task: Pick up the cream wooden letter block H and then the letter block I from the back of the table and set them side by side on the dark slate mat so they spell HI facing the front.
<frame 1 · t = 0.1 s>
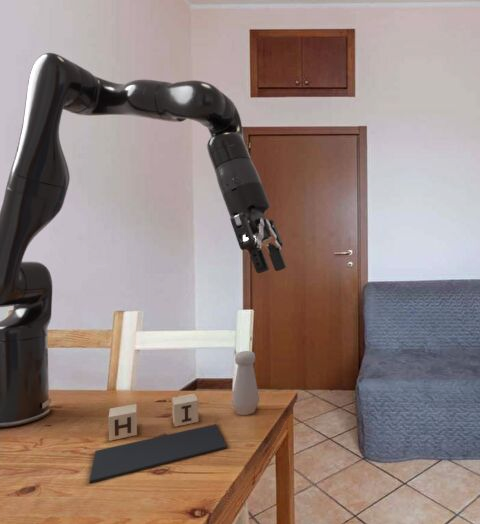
hand: (272, 270, 68), 31 cm above the table, tool tilted 20°, fingers open, 8 cm apart
word mat: (161, 450, 65), on the table
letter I: (185, 420, 77), on the table
letter H: (123, 433, 72), on the table
salt shaker: (245, 412, 82), on the table
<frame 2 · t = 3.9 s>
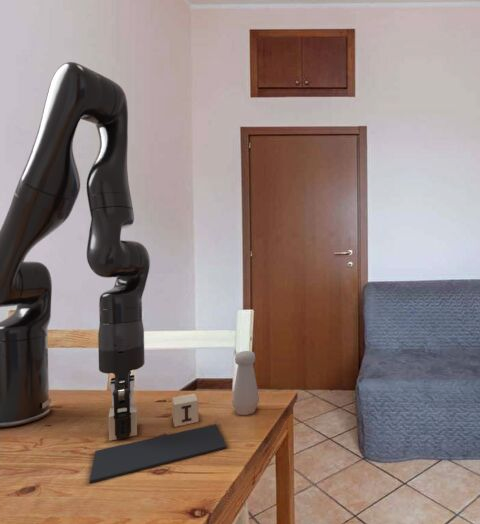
hand: (123, 431, 72), 0 cm above the table, tool pointing down, fingers closed on letter H, 4 cm apart
letter H: (123, 433, 72), on the table, touching gripper
everything else where it was.
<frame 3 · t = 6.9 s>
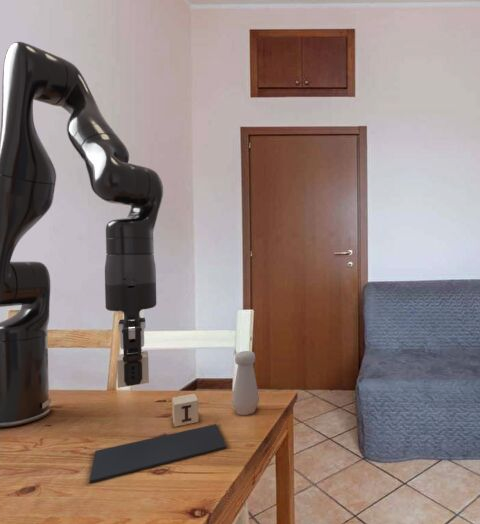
hand: (133, 379, 64), 13 cm above the table, tool pointing down, fingers closed on letter H, 4 cm apart
letter H: (133, 381, 64), point 13 cm above the table, touching gripper
everything else where it was.
when the fingers open (1 cm above the table, at t = 10.1 s): letter H stays where it is, resting on word mat.
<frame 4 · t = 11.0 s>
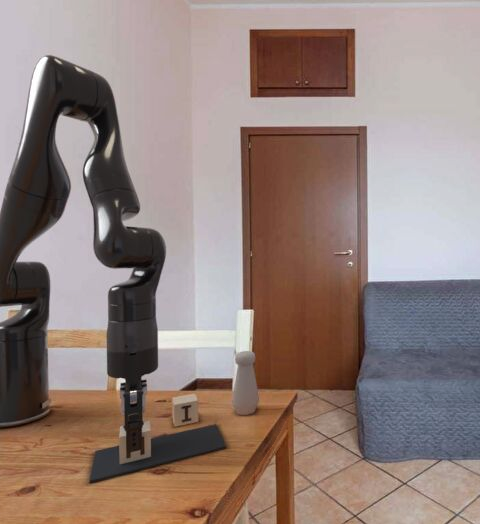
hand: (134, 439, 63), 3 cm above the table, tool pointing down, fingers open, 8 cm apart
letter H: (135, 454, 63), resting on word mat
everything else where it was.
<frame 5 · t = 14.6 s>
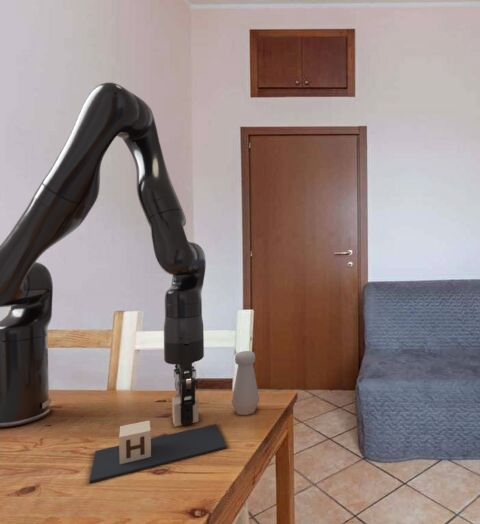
hand: (185, 418, 77), 0 cm above the table, tool pointing down, fingers closed on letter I, 4 cm apart
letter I: (185, 420, 77), on the table, touching gripper
everything else where it was.
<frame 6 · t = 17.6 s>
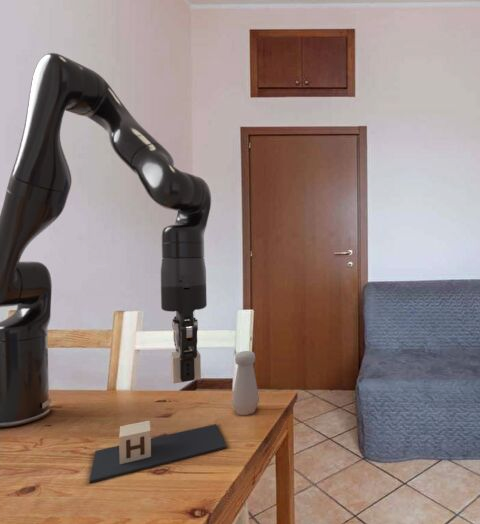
hand: (185, 376, 68), 12 cm above the table, tool pointing down, fingers closed on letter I, 4 cm apart
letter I: (185, 377, 68), point 12 cm above the table, touching gripper
everything else where it was.
when the fingers open (1 cm above the table, at t = 20.6 s): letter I stays where it is, resting on word mat.
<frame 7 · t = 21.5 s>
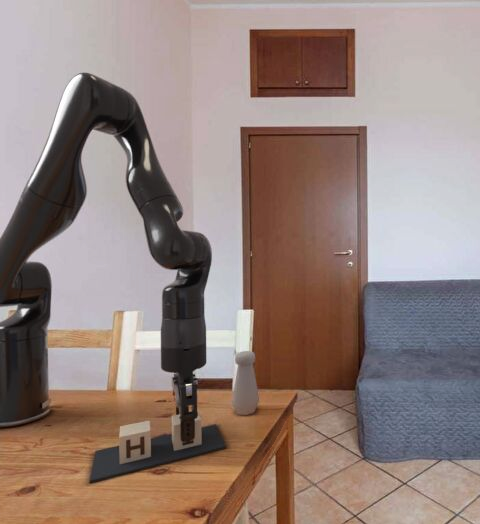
hand: (184, 429, 67), 3 cm above the table, tool pointing down, fingers open, 8 cm apart
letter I: (186, 442, 67), resting on word mat
everything else where it was.
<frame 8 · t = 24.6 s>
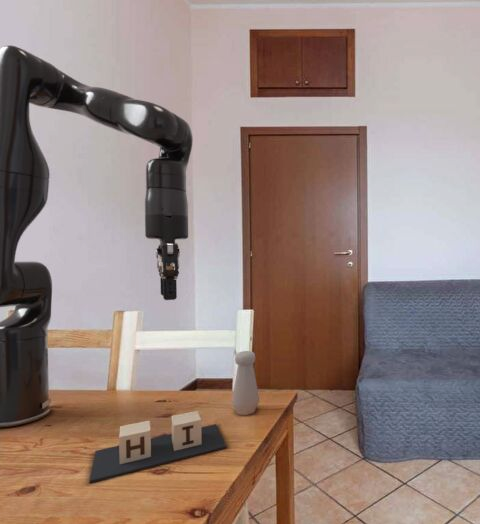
hand: (168, 297, 73), 26 cm above the table, tool pointing down, fingers open, 8 cm apart
nothing on the table moved.
at the end: letter H 0.1 cm from the target spot, resting on word mat; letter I 0.1 cm from the target spot, resting on word mat; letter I tilted 0° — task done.
